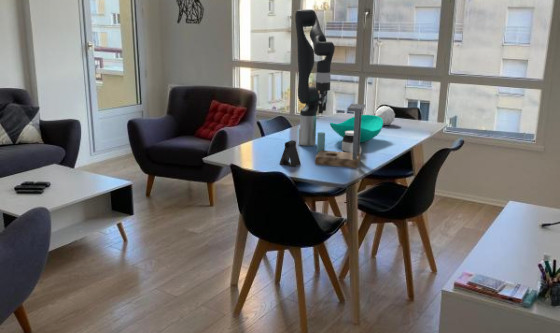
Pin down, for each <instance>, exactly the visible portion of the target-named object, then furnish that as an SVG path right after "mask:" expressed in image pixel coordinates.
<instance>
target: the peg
mask: <svg viewBox="0 0 560 333" xmlns="http://www.w3.org/2000/svg"><path fill="white" fill-rule="evenodd" d="M316 142H317V143H316V144H317V145H316V146H317V147H316V149H317V150H316V155H317V154H318V153H319V152H320V150H323V151H326V149H325V148H326V146H325V144H326V132H324V131H322V132H321V131H318V132H317V138H316Z"/></svg>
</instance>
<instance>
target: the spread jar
mask: <svg viewBox="0 0 560 333" xmlns="http://www.w3.org/2000/svg"><path fill="white" fill-rule="evenodd" d="M353 137H354V131H346V132H345V136H344V137H342V141H341V150H342V151H341V152H349V153H353ZM361 146H362V145H360V153H362V147H361Z"/></svg>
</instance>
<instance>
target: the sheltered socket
mask: <svg viewBox="0 0 560 333" xmlns="http://www.w3.org/2000/svg"><path fill="white" fill-rule="evenodd" d="M365 109H366V104H363V103H351V104H350V105H348V107H347V110H346V111H347V112H354V117H355V118H354V137H353V153H349V152H343V151H334V150H325V151H323V150H320V152H319V153H318V154H317V153H316V155H315V156H314V159H315V160H314V165H315V166H316V165H319V166H331V167H342V168H343V167H344V168H355V169H356V168H358V166H359V165H360V162H361V155H362V154H361V153H362V152H361V153H360V146H361V142H360V135H361V116H362V115H363V113H362V112H363V111H364V110H365Z"/></svg>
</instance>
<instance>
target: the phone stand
mask: <svg viewBox="0 0 560 333" xmlns="http://www.w3.org/2000/svg"><path fill="white" fill-rule="evenodd" d="M298 153H299V152H298V148H297V141H296V140H293V139H292V140H288V141H286V142H284V149H283V152H282V154H281V158H280V161H279V165H280V166H286V167H292V168H296V167H299V166H300V165H301V163H302V162H301V159H300V156H299V154H298Z"/></svg>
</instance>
